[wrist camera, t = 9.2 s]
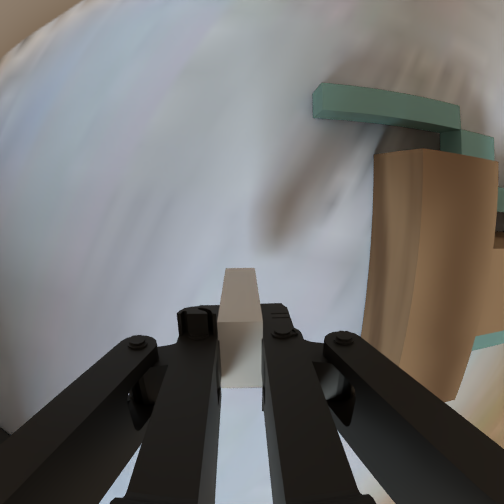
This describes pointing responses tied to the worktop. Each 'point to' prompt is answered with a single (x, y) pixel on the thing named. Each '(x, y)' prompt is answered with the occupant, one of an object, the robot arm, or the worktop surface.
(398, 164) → the t block
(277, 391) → the robot arm
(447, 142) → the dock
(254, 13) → the worktop surface
